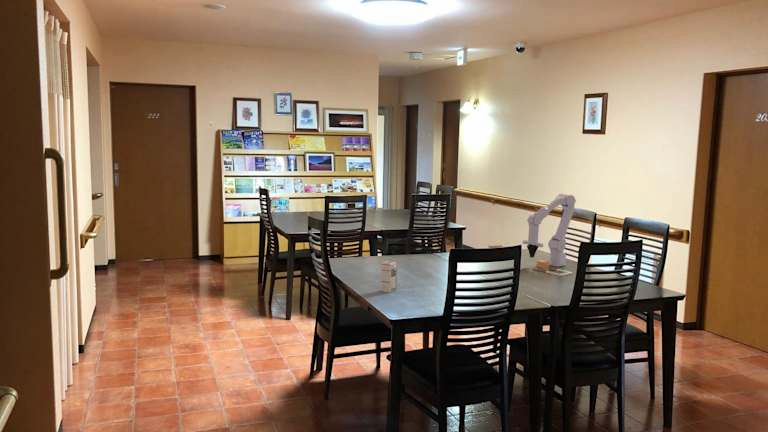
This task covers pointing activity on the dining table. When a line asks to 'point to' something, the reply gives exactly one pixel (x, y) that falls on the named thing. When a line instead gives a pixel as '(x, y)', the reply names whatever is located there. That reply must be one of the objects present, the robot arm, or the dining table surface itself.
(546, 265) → the terracotta block
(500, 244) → the supplement box
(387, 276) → the syrup box
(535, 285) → the dining table surface
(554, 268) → the parallel wooden rails
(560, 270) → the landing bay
